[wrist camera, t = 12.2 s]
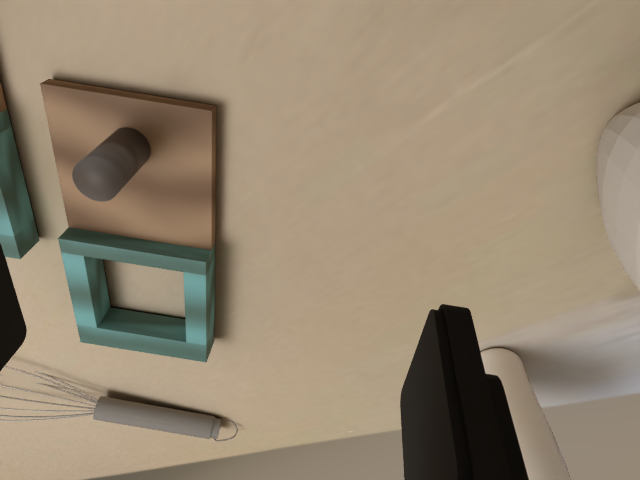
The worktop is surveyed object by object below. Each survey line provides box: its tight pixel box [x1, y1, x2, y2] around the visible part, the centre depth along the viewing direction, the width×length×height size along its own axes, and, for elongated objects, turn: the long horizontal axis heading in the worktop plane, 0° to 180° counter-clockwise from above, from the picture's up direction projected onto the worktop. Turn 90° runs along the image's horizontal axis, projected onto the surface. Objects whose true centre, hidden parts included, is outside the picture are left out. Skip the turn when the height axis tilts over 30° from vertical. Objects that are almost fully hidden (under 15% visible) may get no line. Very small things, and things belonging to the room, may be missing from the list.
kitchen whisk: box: [0, 366, 238, 441], centre depth 57 cm, size 6×34×6 cm, turn 76°
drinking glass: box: [480, 348, 571, 480], centre depth 44 cm, size 7×7×15 cm
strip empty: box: [40, 79, 216, 362], centre depth 42 cm, size 26×13×7 cm, turn 172°
